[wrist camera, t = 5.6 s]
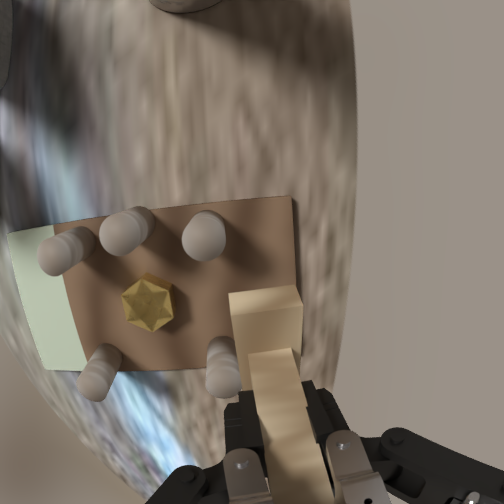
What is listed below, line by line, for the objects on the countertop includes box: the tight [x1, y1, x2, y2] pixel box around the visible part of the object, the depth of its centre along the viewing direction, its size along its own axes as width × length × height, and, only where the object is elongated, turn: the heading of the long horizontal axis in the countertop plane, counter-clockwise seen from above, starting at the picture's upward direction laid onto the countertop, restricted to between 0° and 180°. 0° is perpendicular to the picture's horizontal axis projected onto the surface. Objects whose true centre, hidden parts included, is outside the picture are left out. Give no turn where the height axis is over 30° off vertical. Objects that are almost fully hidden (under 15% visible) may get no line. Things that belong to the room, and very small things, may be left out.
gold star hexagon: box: [121, 272, 176, 332], centre depth 27 cm, size 5×4×2 cm
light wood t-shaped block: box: [228, 284, 334, 504], centre depth 11 cm, size 3×7×10 cm, turn 6°
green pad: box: [7, 224, 87, 371], centre depth 28 cm, size 6×16×1 cm, turn 5°
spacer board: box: [37, 196, 296, 402], centre depth 26 cm, size 22×16×7 cm
